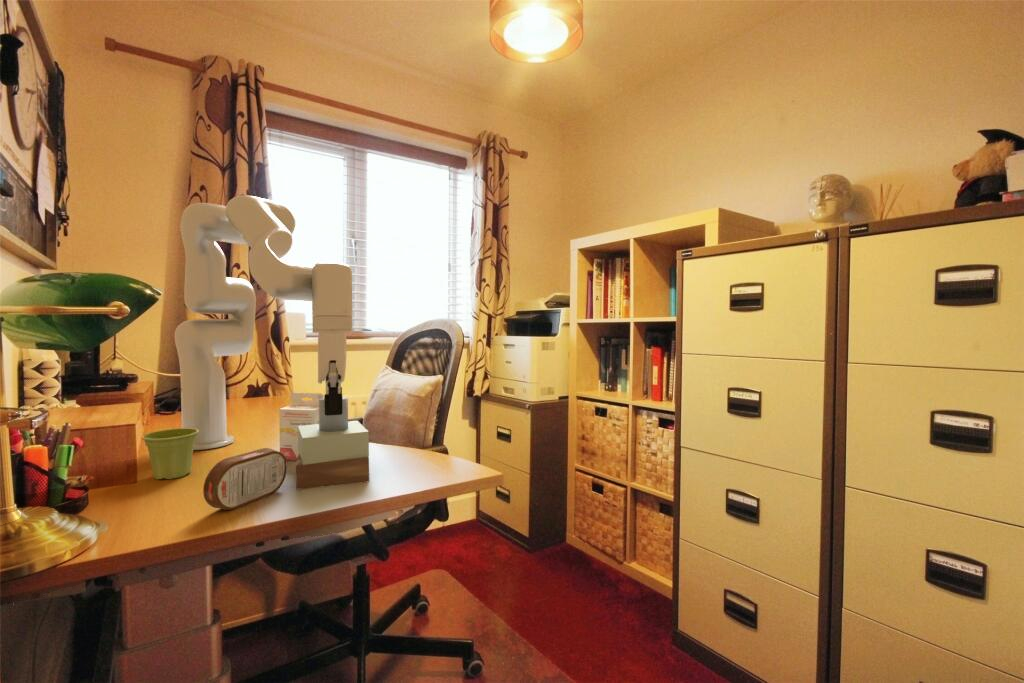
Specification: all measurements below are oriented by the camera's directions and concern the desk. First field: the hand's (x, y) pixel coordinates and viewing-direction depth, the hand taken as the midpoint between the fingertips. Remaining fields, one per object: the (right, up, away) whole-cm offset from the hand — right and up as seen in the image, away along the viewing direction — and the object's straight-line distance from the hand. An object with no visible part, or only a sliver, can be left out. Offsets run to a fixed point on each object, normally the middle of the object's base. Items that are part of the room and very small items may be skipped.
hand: (333, 410), depth 98 cm
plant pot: (-33, -13, +1) cm, 36 cm away
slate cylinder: (0, -4, 0) cm, 4 cm away
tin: (-10, -14, -13) cm, 22 cm away
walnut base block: (0, -14, +1) cm, 14 cm away
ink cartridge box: (-12, -13, +13) cm, 22 cm away
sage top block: (0, -9, +1) cm, 9 cm away
